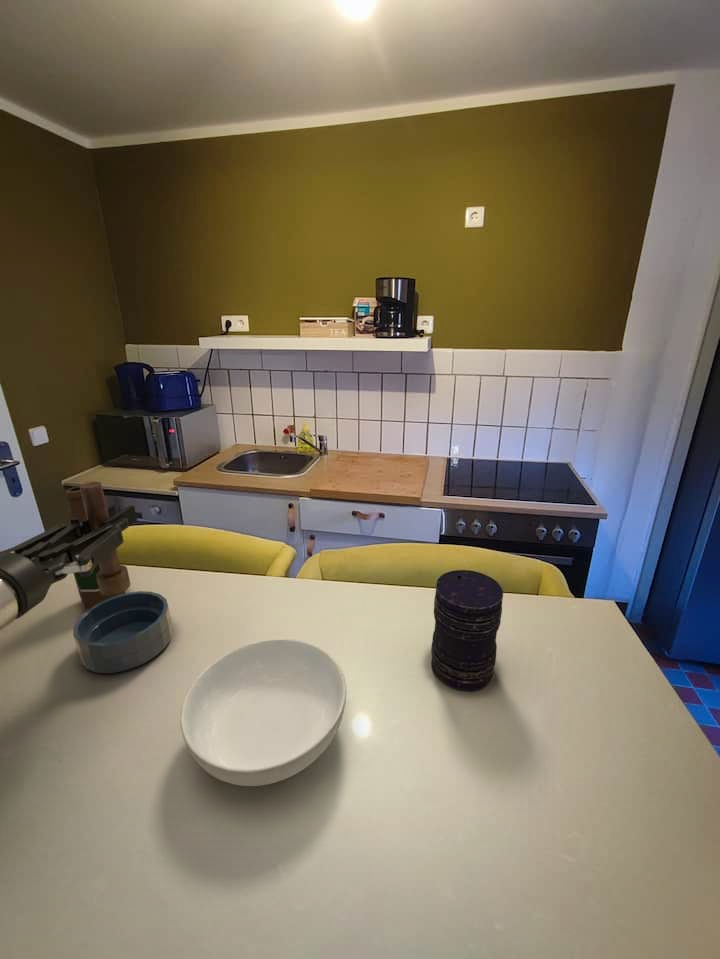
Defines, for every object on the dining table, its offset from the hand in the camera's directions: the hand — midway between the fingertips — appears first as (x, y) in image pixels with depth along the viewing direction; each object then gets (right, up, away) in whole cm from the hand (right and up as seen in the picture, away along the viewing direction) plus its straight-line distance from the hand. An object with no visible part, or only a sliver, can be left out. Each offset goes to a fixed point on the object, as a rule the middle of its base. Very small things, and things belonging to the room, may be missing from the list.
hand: (123, 512), depth 71 cm
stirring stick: (-1, -12, -1) cm, 12 cm away
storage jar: (+55, -25, -3) cm, 61 cm away
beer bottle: (-12, -19, +15) cm, 27 cm away
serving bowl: (+27, -29, -13) cm, 42 cm away
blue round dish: (-1, -23, +3) cm, 23 cm away
